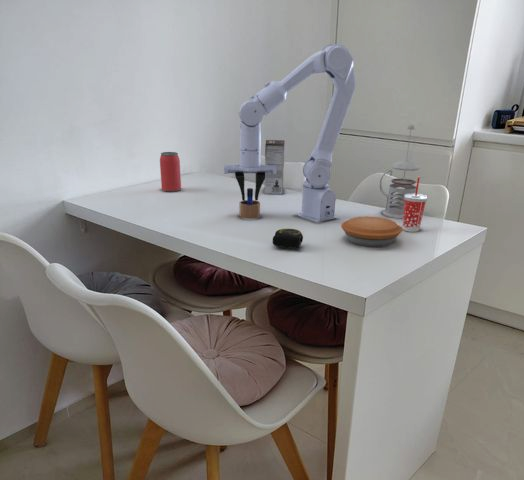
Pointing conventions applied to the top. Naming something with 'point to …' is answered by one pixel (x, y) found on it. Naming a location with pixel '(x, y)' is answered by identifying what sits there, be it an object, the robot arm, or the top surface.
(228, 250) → the top surface
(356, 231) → the pie
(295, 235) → the tape measure
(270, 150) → the coffee box
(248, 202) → the marker
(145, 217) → the top surface
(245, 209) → the brown wooden bowl
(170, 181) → the beer can
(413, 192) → the french press
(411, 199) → the beverage cup
